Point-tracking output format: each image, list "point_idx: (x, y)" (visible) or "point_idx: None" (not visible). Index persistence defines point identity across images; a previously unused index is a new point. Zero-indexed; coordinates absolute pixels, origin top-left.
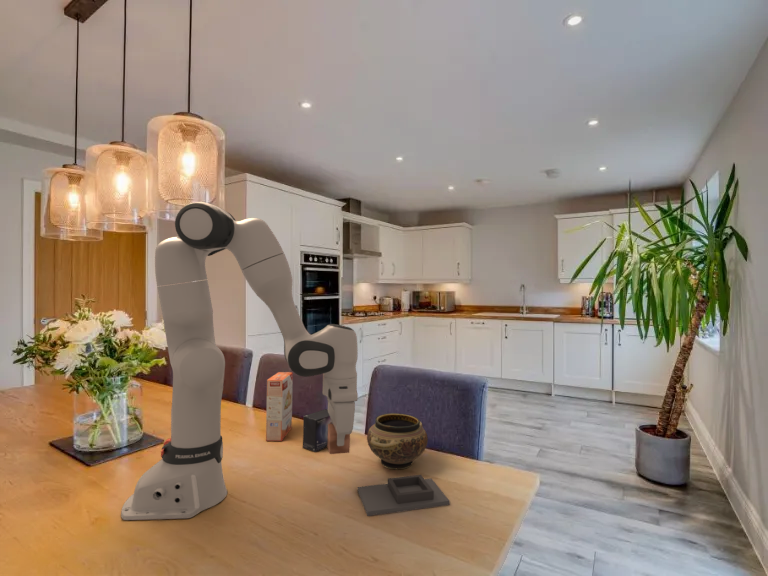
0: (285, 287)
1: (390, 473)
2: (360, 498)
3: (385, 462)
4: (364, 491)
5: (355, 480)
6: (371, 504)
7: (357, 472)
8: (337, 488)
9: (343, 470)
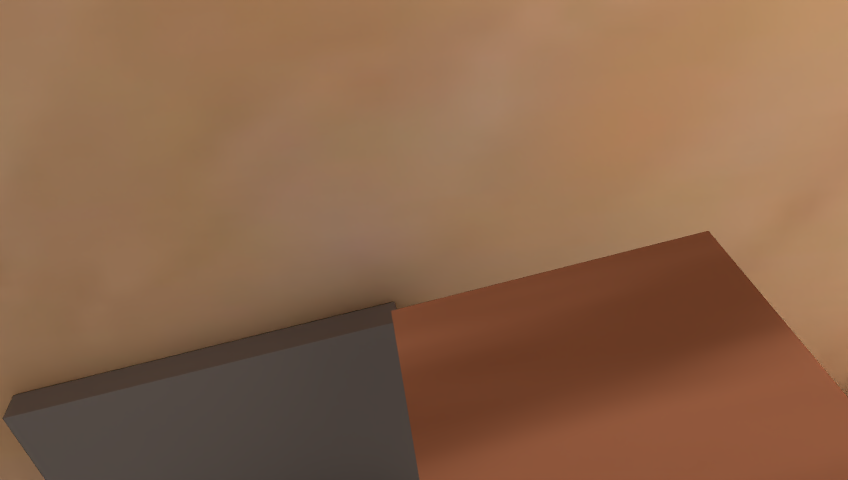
0: None
1: None
2: (268, 333)
3: None
4: (318, 375)
5: None
6: (115, 433)
7: None
8: (449, 143)
9: (801, 155)
